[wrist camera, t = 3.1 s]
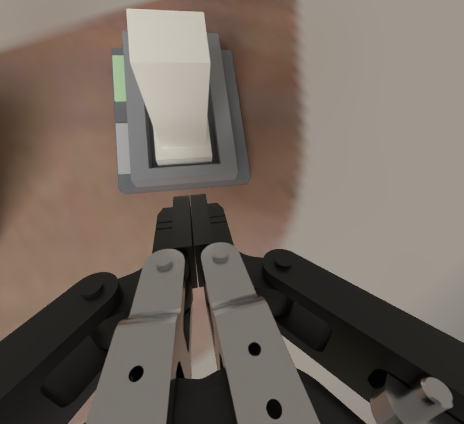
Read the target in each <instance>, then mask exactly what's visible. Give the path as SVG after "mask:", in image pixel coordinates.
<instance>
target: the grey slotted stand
mask: <svg viewBox="0 0 464 424" xmlns="http://www.w3.org/2000/svg"><path fill="white" fill-rule="evenodd" d="M122 38H123V48H111V51H112V71H113V91H114V111H115V131H116V152H117V172H118V189H119V190H120V191H122V192H123V193H124V194H133V193H145V192H157V191H168V190H180V189H192V188H204V187H215V186H227V185H239V184H247V183H248V181H249V180H250V178H251V177H250V170H249V163H248V157H247V150H246V144H245V137H244V130H243V124H242V117H241V111H240V104H239V97H238V91H237V84H236V78H235V71H234V64H233V58H232V51H231V50H221V49H220V42H219V35H218V33H207V41H208V48H209V56H210V79H209V95H208V111H207V118H208V126H209V134H210V142H211V150H212V163H211V164H207V165H192V166H177V167H163V168H159V166H158V164H157V162H156V156H155V143H154V131H153V125H152V122H151V119H150V117H149V114H148V111H147V108H146V106H145V103H144V100H143V97H142V95H141V92H140V89H139V86H138V84H137V81H136V78H135V75H134V72H133V70H132V67H131V64H130V57H129V42H128V31H124V30H122Z"/></svg>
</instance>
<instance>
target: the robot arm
mask: <svg viewBox="0 0 464 424" xmlns="http://www.w3.org/2000/svg"><path fill="white" fill-rule="evenodd" d="M190 197H191V206H190V198H189V195H188V196H177V197H174V198H173V207H170V208H163V209H162V210H161V212H160V213H159V214H158V216H157V224H156V230H155V237H154V244H153V251H152V254H151V255H150V256H149V257H148V258H147V259H146V260H145V262H144V265H143V268H141V269H140V270H138V271H136V272H134V273H132V274H130V275H127V276H124V277H122V278H119V279H117V277H116V276H115V275H113V274H111V273H108V272H99V273H95V274H92V275H89V276H87V277H85V278H83V279H82V280H80V281H79V282H78V283H76V284H75V285H74V286H72V287H71V288H70V289H68V290H67V291H66V292H64V293H63V294H62V295H60V296H59V297H58V298H57V299H55V300H54V301H53V302H51V303H50V304H49V305H47V306H46V307H45V308H43V309H42V310H41V311H40V312H38V313H37V314H36V315H34V316H33V317H32V318H30V319H29V320H28V321H26V322H25V323H24V324H23V325H21V326H20V327H19V328H17V329H16V330H15V331H13V332H12V333H11V334H9V335H8V336H7V337H5V338H4V339H3V340H2V341H0V424H68V423H69V421H70V420H71V419H72V418H73V417H74V415H75V414H76V413H77V412H78V411H79V409H80V408H81V407H82V406H83V405H84V403H85V402H86V401H87V400H88V399H89V397H90V396H91V395H92V394H93V392H94V391H95V390H96V392H95V395H94V398H93V402H92V405H91V408H90V411H89V414H88V417H87V421H86V422H85V423H84V424H366V423H365V422H364V421H363V420H361V419H360V418H359V417H358V416H357V415H356V414H355V413H353V412H352V411H351V410H350V409H349V408H348V407H347V406H345V405H344V404H343V403H342V402H341V401H340V400H339V399H337V398H336V397H335V396H334V395H333V394H332V393H331V392H329V391H328V390H327V389H326V388H325V387H324V386H323V385H321V384H320V383H319V382H318V381H316V380H315V379H314V378H312V377H311V376H309V375H308V374H306V373H305V372H303V371H301V370H299V369H297V368H295V365H294V363H293V361H292V358H291V356H290V354H289V352H288V350H287V347H286V345H285V343H284V341H283V338H282V336H281V335H283V336H284V337H285V338H287V339H288V340H289V341H290V342H292V343H293V344H294V345H296V346H297V347H298V348H299V349H301V350H302V351H303V352H305V353H306V354H307V355H309V356H310V357H311V358H312V359H314V360H315V361H316V362H318V363H319V364H320V365H322V366H323V367H324V368H325V369H327V370H328V371H329V372H331V373H332V374H333V375H334V376H336V377H337V378H338V379H339V380H341V381H342V382H343V383H345V384H346V385H347V386H349V387H350V388H351V389H352V390H354V391H355V392H356V393H358V394H359V395H360V396H361V397H363V398H364V399H365V400H367V401H368V402H369V403H370V406H371V411H372V414H373V417H374V419H375V421H376V423H377V424H464V343H463V342H461V341H459V340H457V339H455V338H453V337H452V336H450V335H448V334H446V333H444V332H442V331H440V330H438V329H436V328H434V327H433V326H431V325H429V324H427V323H425V322H423V321H421V320H419V319H418V318H416V317H414V316H412V315H410V314H408V313H406V312H404V311H402V310H401V309H399V308H397V307H395V306H393V305H391V304H389V303H387V302H386V301H384V300H382V299H380V298H378V297H376V296H374V295H372V294H370V293H368V292H367V291H365V290H363V289H361V288H359V287H357V286H355V285H353V284H352V283H350V282H348V281H346V280H344V279H342V278H340V277H338V276H336V275H335V274H333V273H331V272H329V271H327V270H325V269H323V268H321V267H319V266H317V265H316V264H314V263H312V262H310V261H308V260H306V259H304V258H302V257H301V256H299V255H297V254H295V253H293V252H291V251H288V250H284V249H275V250H271V251H269V252H268V253H266V254H265V256H264V258H260V257H252V256H247V255H245V254H242V253H241V252H239V251H238V249H237V248H236V247H235V246H234V244H233V241H232V238H231V234H230V231H229V227H228V224H227V220H226V217H225V213H224V210H223V208H222V207H221V206H220V205H219V204H218V203H211V204H207V200H206V195H205V194H198V195H190ZM191 211H192V215H191ZM195 257H196V259H195ZM196 265H197V273H198V281H199V287H204V292H205V301H206V308H207V314H208V319H209V324H210V329H211V335H212V340H213V345H214V351H215V356H216V364H217V369H218V371H216V372H214V373H212V374H211V375H209V376H207V377H205V378H203V379H192V370H191V334H192V301H193V293H192V288H198V286H197V273H196Z"/></svg>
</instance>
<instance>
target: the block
mask: <svg viewBox="0 0 464 424" xmlns="http://www.w3.org/2000/svg"><path fill="white" fill-rule="evenodd" d="M126 11H127V26H128V42H129V57H130V64H131V67H132V70H133V72H134V75H135V78H136V81H137V84H138V86H139V89H140V92H141V95H142V97H143V100H144V103H145V106H146V108H147V111H148V114H149V117H150V119H151V122H152V125H153V131H154V143H155V156H156V162H157V164H158V166H159V168H163V167H177V166H192V165H207V164H211V163H212V150H211V142H210V134H209V126H208V118H207V111H208V95H209V79H210V56H209V48H208V41H207V33H206V25H205V18H204V12H189V11H167V10H146V9H126Z"/></svg>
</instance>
